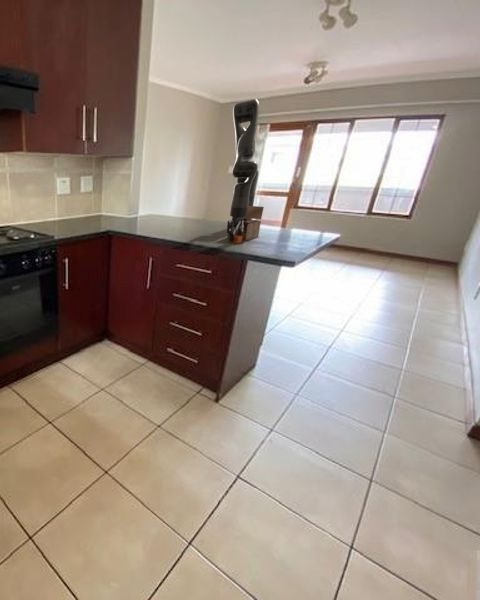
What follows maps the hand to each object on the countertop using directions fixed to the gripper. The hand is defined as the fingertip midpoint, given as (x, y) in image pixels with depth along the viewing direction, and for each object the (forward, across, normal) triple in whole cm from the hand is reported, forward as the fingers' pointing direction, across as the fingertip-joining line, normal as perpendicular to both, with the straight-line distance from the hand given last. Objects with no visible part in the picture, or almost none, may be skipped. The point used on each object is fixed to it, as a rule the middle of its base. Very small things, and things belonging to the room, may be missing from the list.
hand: (234, 240), depth 167 cm
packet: (+1, 0, 0) cm, 1 cm away
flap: (-12, -20, -3) cm, 23 cm away
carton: (+1, -13, -3) cm, 14 cm away
